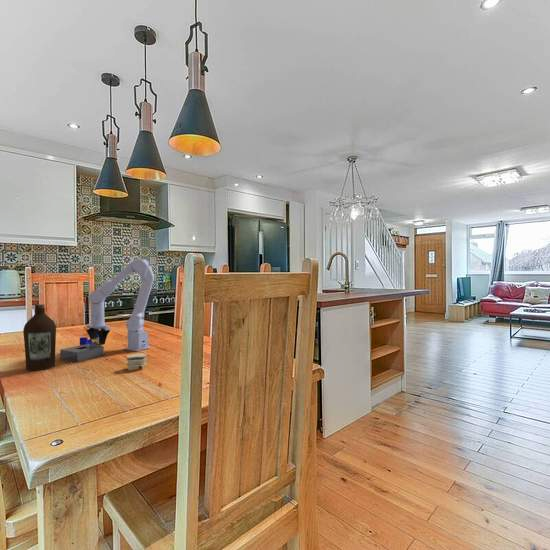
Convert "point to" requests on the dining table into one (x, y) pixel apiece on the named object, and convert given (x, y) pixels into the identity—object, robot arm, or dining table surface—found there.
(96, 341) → the brass pin
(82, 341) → the blue angular block
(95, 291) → the robot arm
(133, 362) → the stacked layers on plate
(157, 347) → the dining table surface
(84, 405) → the dining table surface
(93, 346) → the block
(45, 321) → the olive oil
